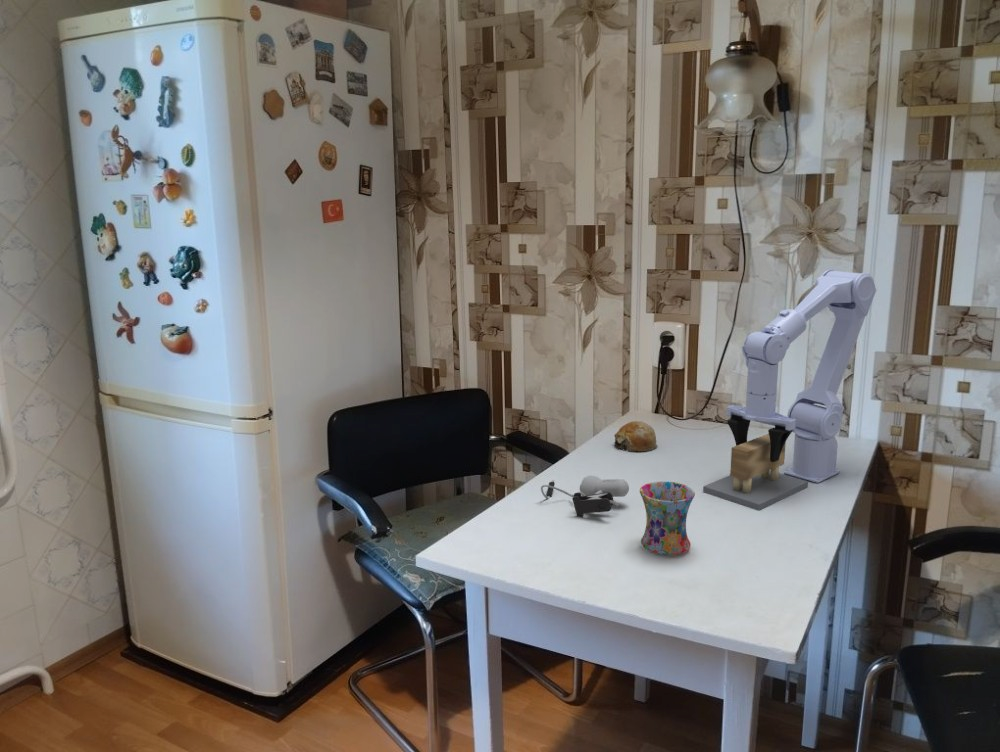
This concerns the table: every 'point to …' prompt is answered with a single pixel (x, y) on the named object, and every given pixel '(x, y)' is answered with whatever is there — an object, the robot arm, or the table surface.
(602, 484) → the clip-on lamp
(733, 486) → the peg stand
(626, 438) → the bread roll
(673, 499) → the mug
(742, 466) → the oak bar
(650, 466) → the table surface
